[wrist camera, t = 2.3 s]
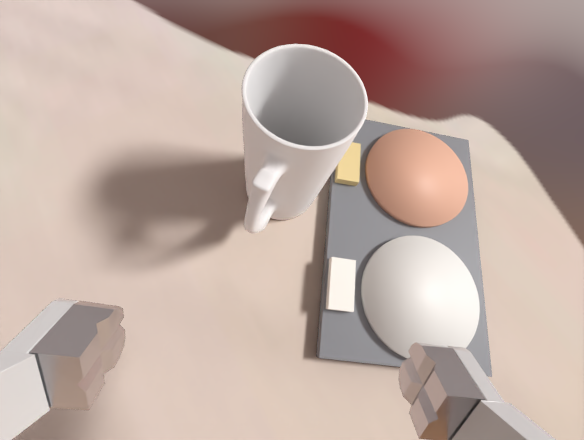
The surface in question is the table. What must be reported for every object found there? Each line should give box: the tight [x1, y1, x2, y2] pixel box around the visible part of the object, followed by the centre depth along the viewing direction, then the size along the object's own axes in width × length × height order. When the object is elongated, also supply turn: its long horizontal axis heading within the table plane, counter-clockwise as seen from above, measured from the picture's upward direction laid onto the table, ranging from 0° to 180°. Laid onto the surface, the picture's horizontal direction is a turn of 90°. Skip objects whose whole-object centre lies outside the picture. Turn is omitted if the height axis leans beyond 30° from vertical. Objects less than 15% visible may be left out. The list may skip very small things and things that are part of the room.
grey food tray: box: [316, 120, 492, 377], centre depth 26 cm, size 14×22×2 cm, turn 173°
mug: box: [242, 44, 368, 233], centre depth 20 cm, size 10×7×12 cm, turn 155°
